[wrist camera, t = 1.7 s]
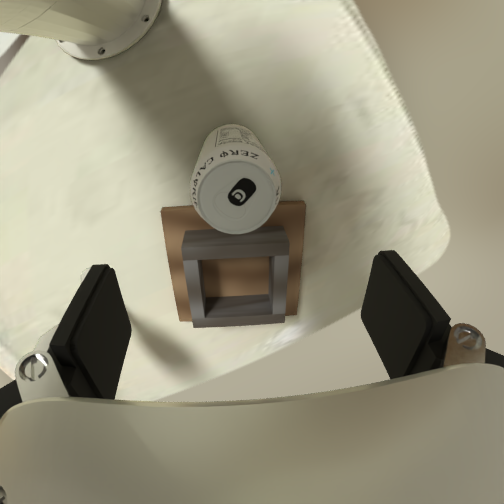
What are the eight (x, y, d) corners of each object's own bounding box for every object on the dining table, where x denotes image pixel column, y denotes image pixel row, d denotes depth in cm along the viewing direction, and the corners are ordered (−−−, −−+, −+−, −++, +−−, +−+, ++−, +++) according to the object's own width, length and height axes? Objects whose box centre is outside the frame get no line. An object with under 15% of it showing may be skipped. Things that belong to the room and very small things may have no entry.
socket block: (162, 207, 34) (153, 227, 29) (303, 200, 35) (315, 219, 31) (180, 315, 42) (176, 342, 37) (294, 309, 43) (302, 335, 39)
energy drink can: (191, 155, 31) (167, 206, 18) (227, 111, 29) (230, 129, 16) (234, 188, 34) (242, 259, 21) (271, 147, 32) (306, 192, 19)
